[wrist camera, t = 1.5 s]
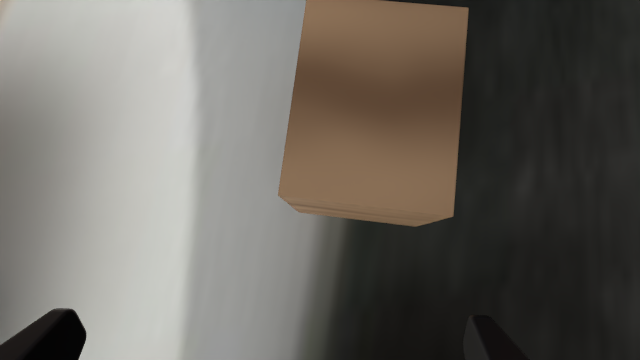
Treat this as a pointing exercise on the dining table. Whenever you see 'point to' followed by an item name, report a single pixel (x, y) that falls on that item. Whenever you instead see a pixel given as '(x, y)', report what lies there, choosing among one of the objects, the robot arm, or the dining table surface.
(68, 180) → the dining table surface
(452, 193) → the walnut block
